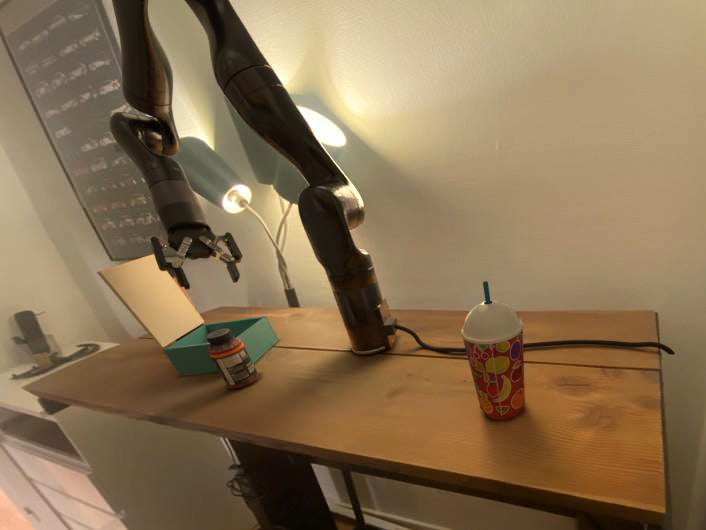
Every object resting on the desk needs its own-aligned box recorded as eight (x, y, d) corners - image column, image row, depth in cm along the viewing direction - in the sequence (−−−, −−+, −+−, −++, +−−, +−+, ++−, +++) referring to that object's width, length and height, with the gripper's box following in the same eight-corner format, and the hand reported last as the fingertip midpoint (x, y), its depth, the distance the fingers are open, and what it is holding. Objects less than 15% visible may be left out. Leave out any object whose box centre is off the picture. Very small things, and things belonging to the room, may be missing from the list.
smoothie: (473, 397, 60) (451, 277, 51) (524, 389, 60) (512, 267, 51) (478, 431, 53) (453, 298, 43) (536, 421, 53) (524, 286, 43)
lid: (154, 253, 84) (136, 260, 85) (99, 271, 72) (79, 278, 73) (204, 321, 92) (188, 327, 93) (163, 347, 80) (144, 353, 81)
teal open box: (278, 340, 94) (267, 315, 91) (248, 367, 83) (234, 340, 79) (217, 348, 96) (204, 323, 92) (179, 376, 84) (162, 349, 81)
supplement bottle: (230, 380, 78) (203, 332, 73) (260, 371, 80) (236, 323, 75) (226, 393, 74) (197, 343, 68) (258, 383, 75) (232, 333, 70)
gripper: (133, 201, 68) (170, 282, 69) (222, 199, 78) (254, 271, 78) (136, 222, 74) (169, 298, 74) (218, 219, 83) (248, 285, 84)
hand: (212, 284), depth 76 cm, fingers open, 8 cm apart
